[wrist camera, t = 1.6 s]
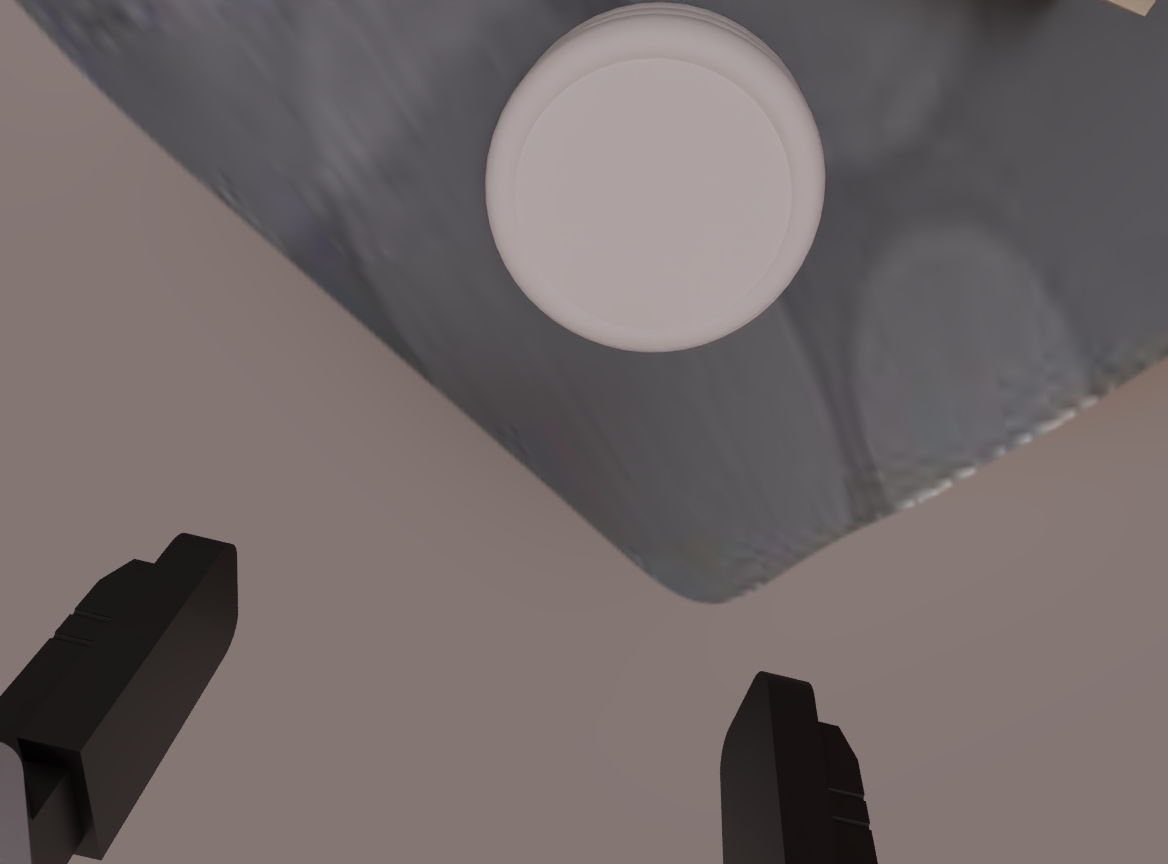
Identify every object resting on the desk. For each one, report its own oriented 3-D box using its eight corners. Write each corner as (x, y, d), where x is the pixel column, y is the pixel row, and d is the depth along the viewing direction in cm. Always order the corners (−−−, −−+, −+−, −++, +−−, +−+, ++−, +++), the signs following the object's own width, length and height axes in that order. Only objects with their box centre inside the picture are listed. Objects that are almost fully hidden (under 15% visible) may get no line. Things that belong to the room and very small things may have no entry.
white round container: (596, -73, 24) (582, -64, 21) (880, 113, 26) (904, 144, 23) (455, 222, 29) (429, 262, 26) (699, 358, 31) (700, 409, 28)
